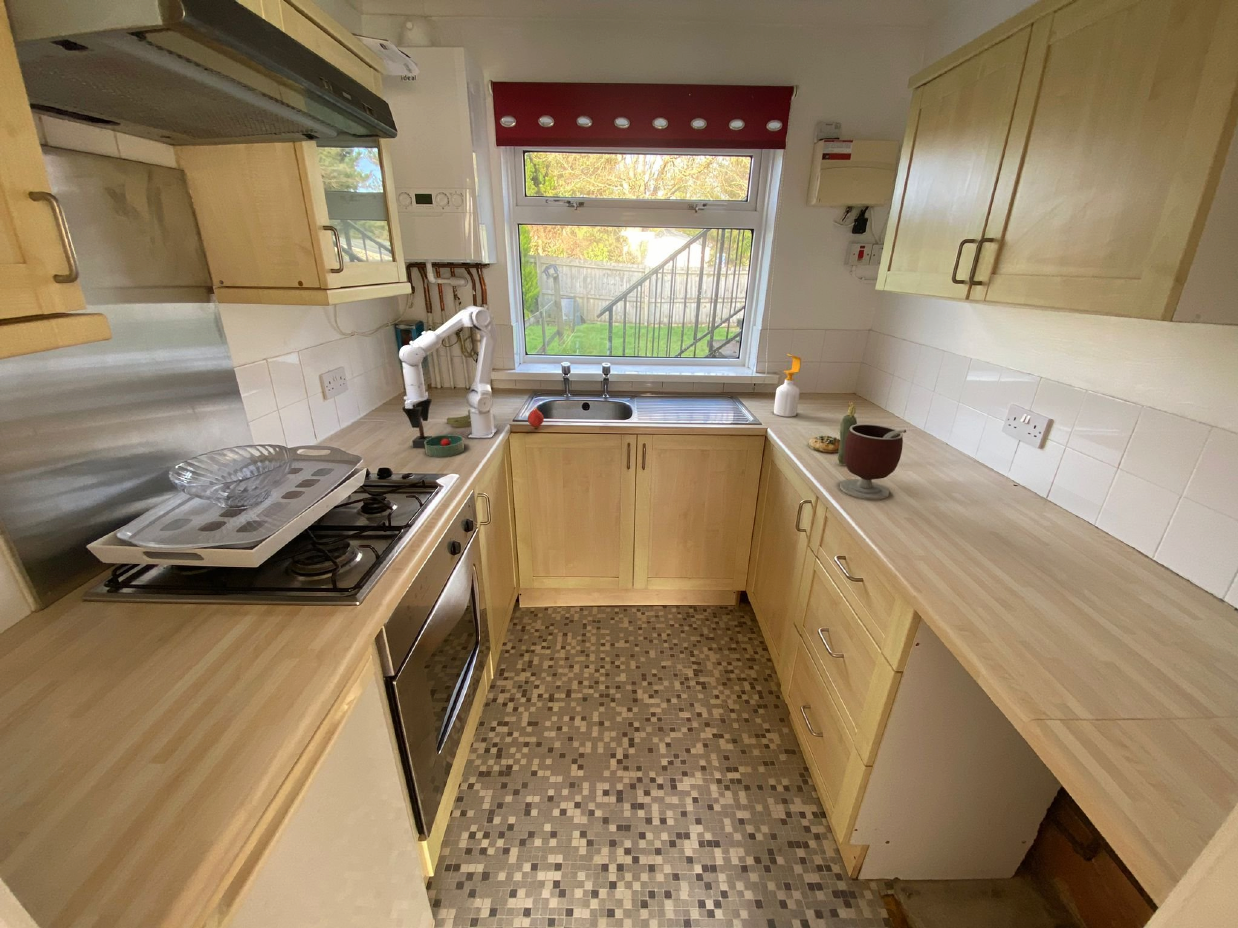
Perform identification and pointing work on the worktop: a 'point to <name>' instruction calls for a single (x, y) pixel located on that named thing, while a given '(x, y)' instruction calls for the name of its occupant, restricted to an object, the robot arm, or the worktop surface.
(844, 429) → the vegetable
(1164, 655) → the worktop surface
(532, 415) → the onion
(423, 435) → the stick
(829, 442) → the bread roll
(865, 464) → the mate gourd
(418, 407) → the robot arm
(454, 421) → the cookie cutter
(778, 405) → the soap bottle
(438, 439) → the bowl
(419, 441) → the holder
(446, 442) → the ball
